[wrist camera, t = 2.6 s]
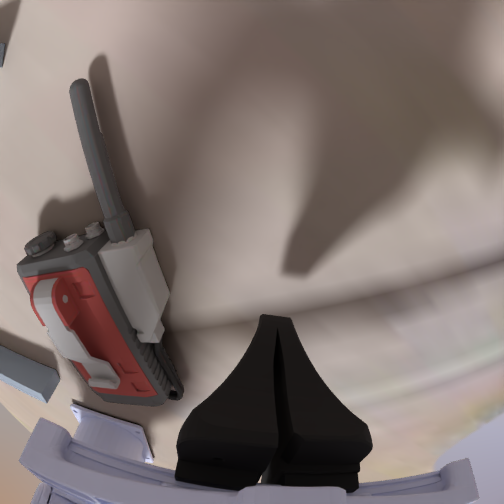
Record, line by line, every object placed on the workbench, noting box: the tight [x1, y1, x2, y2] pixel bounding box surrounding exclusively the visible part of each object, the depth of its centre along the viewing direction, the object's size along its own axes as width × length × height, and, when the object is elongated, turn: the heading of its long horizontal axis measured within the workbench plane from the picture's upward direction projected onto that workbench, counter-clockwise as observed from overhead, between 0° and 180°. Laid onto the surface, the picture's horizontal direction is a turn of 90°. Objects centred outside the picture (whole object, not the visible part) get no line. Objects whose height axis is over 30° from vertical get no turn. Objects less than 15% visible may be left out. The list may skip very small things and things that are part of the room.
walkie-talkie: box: [17, 79, 184, 406], centre depth 14 cm, size 9×4×20 cm
